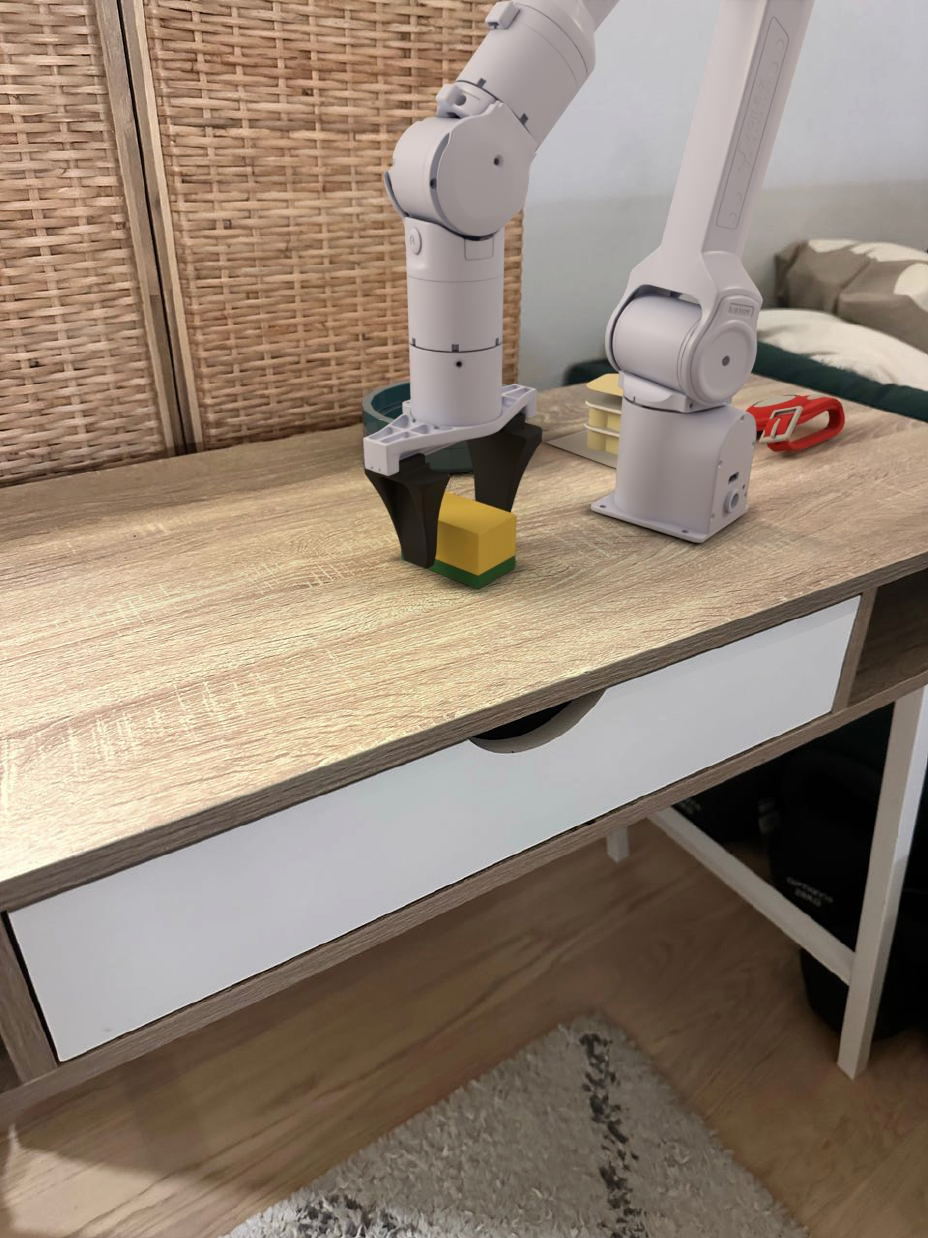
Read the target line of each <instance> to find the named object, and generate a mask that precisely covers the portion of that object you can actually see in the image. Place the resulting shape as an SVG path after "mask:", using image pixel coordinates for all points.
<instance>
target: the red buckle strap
mask: <svg viewBox="0 0 928 1238" xmlns="http://www.w3.org/2000/svg"><path fill="white" fill-rule="evenodd" d="M745 411H746V412H748V413H750V414H752V415H753V416H754V418H755V422H756V432H762V434H761V436H760V437H759V440H758V443H759V444H760V445H766V446H767V447H768V449H770V450H771V451H772V452H774V453H778V452H779V453H780V452H788V451H789V452H790V451H791V452H792V451H799V450H804V449H807V448H810V447H812V446H815V445H817V444H820V443H822V442H824V441H826V440H829V439H831V438H834V437H837V436H838V435H840V433H841V432H842V430H843V429H844V427H845V423H846V416H845V415H846V414H845V411H844V407H843V403H842V402H841V401H840V400H838V399H837V398H835V397H830V396H826V395H825V394H823V393H814V394H807V395H800V394H784V395H777V396H773V397H770V398H766V399H765V398H764V399H763V400H759V401H757V402H756V403H753V404H752V405H750V406H749V407H747V409H746V410H745ZM825 412H828V423H827V425H826V426H825V427H824V428H822V429H819V430H817V431H815V432H812V433H810V434H807V435H805V436H803V437H800V438H798V439H795V440H793V441H790V437H791V435H792V434H793V433H794V432H795V427H796V426H800V425H802V424H805V423H807V422H809V421H810V420H812V419H814V418H816V417H818V416H819V415H822V414H823V413H825Z"/></svg>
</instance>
